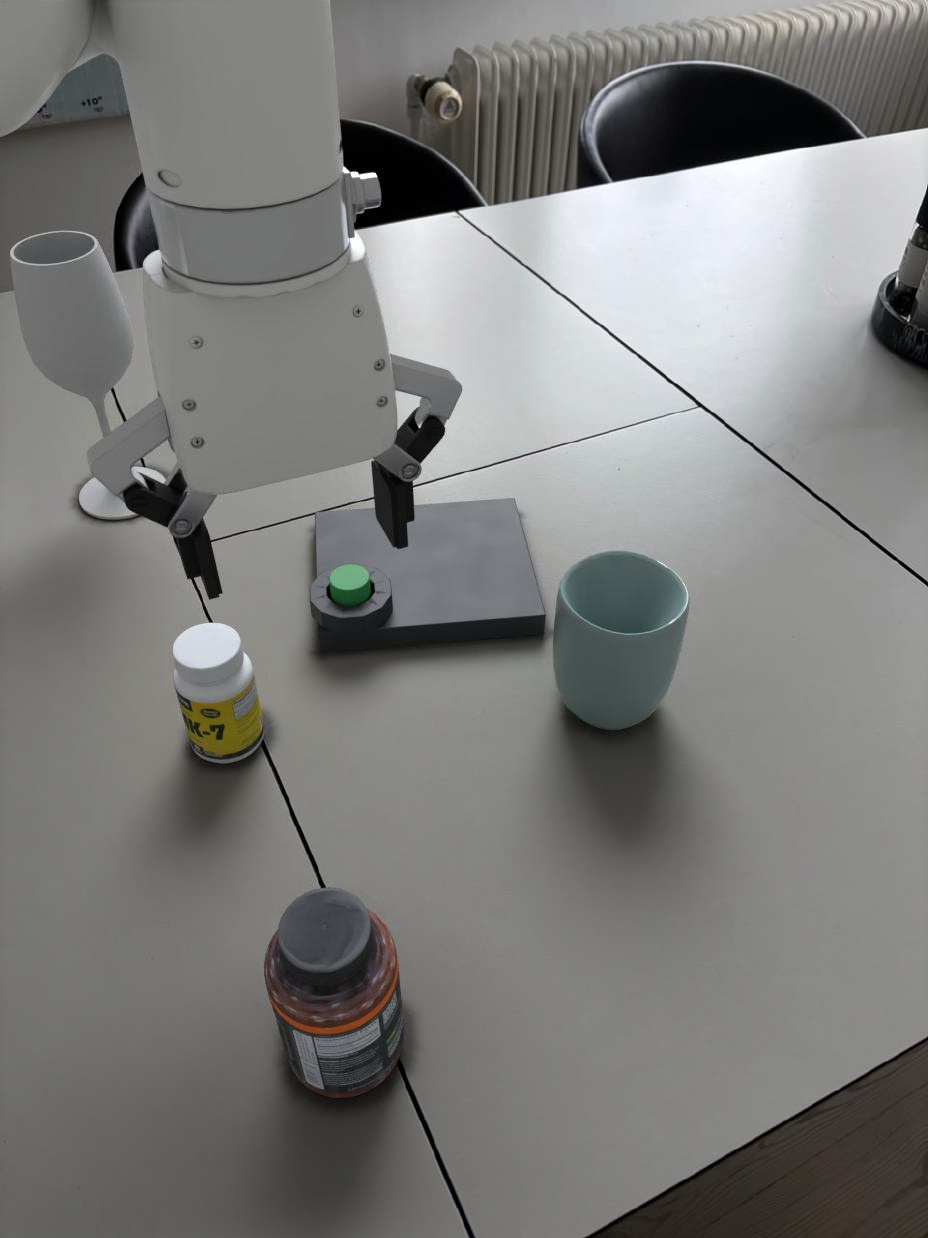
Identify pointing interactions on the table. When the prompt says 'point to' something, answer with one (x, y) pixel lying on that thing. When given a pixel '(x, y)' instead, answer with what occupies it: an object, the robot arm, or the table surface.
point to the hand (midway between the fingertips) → (303, 556)
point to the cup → (617, 637)
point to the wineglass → (75, 331)
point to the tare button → (350, 585)
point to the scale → (428, 577)
